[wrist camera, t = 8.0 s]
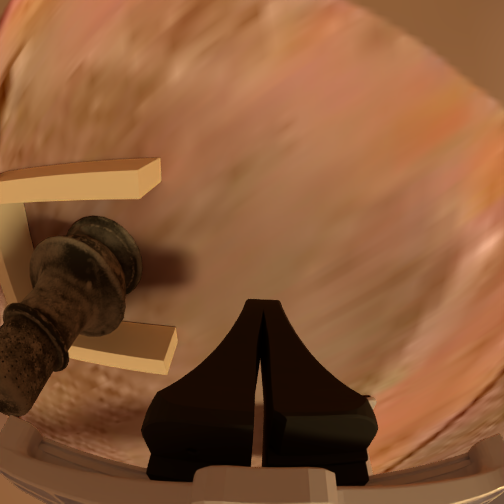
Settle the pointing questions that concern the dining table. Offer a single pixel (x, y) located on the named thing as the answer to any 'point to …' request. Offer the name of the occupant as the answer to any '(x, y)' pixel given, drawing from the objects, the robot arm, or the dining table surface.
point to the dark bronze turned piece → (65, 305)
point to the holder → (20, 249)
